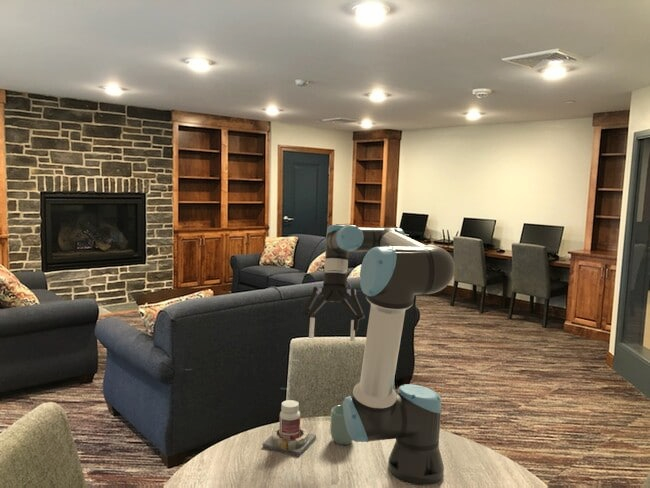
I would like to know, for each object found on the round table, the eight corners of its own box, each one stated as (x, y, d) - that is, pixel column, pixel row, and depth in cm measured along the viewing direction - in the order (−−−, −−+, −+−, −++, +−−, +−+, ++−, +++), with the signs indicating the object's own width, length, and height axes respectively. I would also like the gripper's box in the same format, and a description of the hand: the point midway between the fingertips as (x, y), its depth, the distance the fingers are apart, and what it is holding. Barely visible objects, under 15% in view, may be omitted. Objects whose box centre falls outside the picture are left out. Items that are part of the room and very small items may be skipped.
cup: (360, 440, 166) (361, 409, 165) (347, 450, 160) (348, 417, 158) (338, 433, 170) (339, 402, 169) (325, 442, 164) (326, 411, 163)
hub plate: (316, 438, 166) (316, 428, 166) (299, 457, 155) (299, 446, 154) (280, 430, 170) (281, 421, 170) (261, 448, 159) (262, 437, 159)
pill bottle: (303, 441, 161) (304, 405, 160) (285, 446, 158) (286, 409, 157) (293, 433, 166) (294, 397, 165) (275, 437, 163) (276, 401, 162)
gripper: (375, 275, 175) (372, 342, 172) (303, 273, 182) (298, 336, 179) (371, 273, 168) (367, 342, 165) (295, 270, 175) (290, 336, 172)
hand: (331, 339), depth 172 cm, fingers open, 13 cm apart
